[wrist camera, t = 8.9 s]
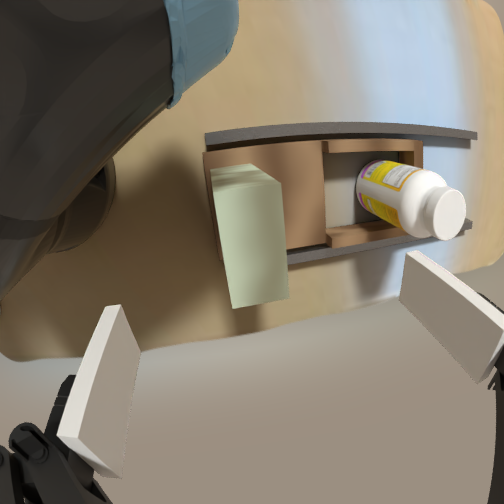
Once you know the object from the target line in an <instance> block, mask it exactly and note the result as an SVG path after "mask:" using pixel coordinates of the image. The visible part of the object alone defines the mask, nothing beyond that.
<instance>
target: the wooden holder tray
mask: <svg viewBox="0 0 504 504" xmlns="http://www.w3.org/2000/svg"><path fill="white" fill-rule="evenodd" d="M361 151H399V163H400V164H405V165H409V166H413V167H417V168H421V169H423V141H419V140H412V139H390V138H359V139H327V140H309V141H295V142H283V143H272V144H262V145H253V146H245V147H237V148H230V149H223V150H216V151H209V152H203V153H202V154H203V161H204V167H205V174H206V181H207V187H208V194H209V200H210V206H211V213H212V219H213V225H214V231H215V237H216V243H217V249H218V254H219V260H220V261H221V260H224V264H225V269H226V275H227V281H228V287H229V292H230V298H231V303H232V309H235V308H240V307H246V306H252V305H257V304H262V303H268V302H273V301H278V300H283V299H288V298H289V283H288V267H287V252H286V249H292V248H298V247H304V246H310V245H316V244H322V243H327V244H328V245H329V246H330V247H331V248H332V249H334V248H339V247H345V246H350V245H356V244H361V243H367V242H372V241H378V240H383V239H389V238H394V237H400V236H405V235H410V234H408V233H406V232H405V231H403V230H401V229H400V228H398V227H396V226H394V225H392V224H391V223H389V222H387V221H385V220H380V221H373V222H367V223H360V224H353V225H347V226H340V227H334V228H328V229H326V222H325V194H324V174H323V158H322V152H326V153H339V152H361Z"/></svg>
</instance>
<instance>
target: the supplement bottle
mask: <svg viewBox="0 0 504 504" xmlns="http://www.w3.org/2000/svg"><path fill="white" fill-rule="evenodd" d="M356 193H357V197H358V200H359V202H360V204H361V205H362V206H363V207H364V208H365V209H366V210H367V211H369V212H371V213H372V214H374V215H376V216H378V217H380V218H382V219H383V220H385V221H387V222H389V223H391V224H392V225H394V226H396V227H398V228H400V229H401V230H403V231H405V232H406V233H408V234H410V235H412V236H414V237H417V238H426V237H430V236H434V237H436V238H438V239H440V240H443V241H447V240H450V239H452V238H453V237H455V236H456V235H457V234H458V232H459V231H460V229H461V227H462V225H463V223H464V220H465V215H466V203H465V200H464V197H463V195H462V194H461V193H460V192H459V191H457V190H455V189H453V188H450V187H448V186H447V184H446V183H445V181H444V180H443V178H442V177H441V176H439V175H438V174H437V173H435V172H432V171H429V170H425V169H421V168H417V167H413V166H409V165H405V164H400V163H396V162H392V161H387V160H375V161H372V162H370V163H368V164H367V165H366V166H365V167H364V168H363V169H362V170H361V172H360V173H359V176H358V178H357V183H356Z"/></svg>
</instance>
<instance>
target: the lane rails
mask: <svg viewBox="0 0 504 504" xmlns="http://www.w3.org/2000/svg"><path fill="white" fill-rule="evenodd" d="M328 133H401V134H420V135H435V136H446V137H456V138H465V139H473V140H477V132H473V131H466V130H459V129H452V128H444V127H435V126H425V125H413V124H399V123H377V122H320V123H298V124H282V125H270V126H259V127H249V128H241V129H232V130H225V131H218V132H211V133H205V139H206V145H213V144H219V143H226V142H234V141H242V140H250V139H259V138H269V137H280V136H292V135H307V134H328ZM472 222H473V221H470V220H468V219H465V220H464V223H463V225H462V227H461V229H460V231H463V230H468V229H472ZM430 237H434V236H430ZM430 237H426V238H430ZM420 239H425V238H417V237H414V236H412V235H405V236H400V237H394V238H389V239H383V240H378V241H372V242H367V243H361V244H356V245H350V246H345V247H339V248H334V249H332V248H331V247H330V246H329V245H328V244H327V243H322V244H316V245H310V246H304V247H299V248H293V249H287V250H286V252H287V265H290V264H296V263H301V262H307V261H312V260H317V259H323V258H328V257H334V256H339V255H344V254H349V253H355V252H360V251H365V250H370V249H375V248H380V247H385V246H391V245H396V244H401V243H406V242H410V241H415V240H420Z"/></svg>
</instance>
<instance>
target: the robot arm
mask: <svg viewBox="0 0 504 504" xmlns="http://www.w3.org/2000/svg"><path fill="white" fill-rule="evenodd" d="M238 24H239V4H238V0H0V301H1V300H2V299H3V298H4V296H5V295H6V294H7V293H8V292H9V291H10V290H11V289H12V288H13V287H14V286H15V285H16V284H17V283H18V282H19V281H20V280H21V278H22V277H23V276H24V275H25V274H26V273H27V272H28V271H29V270H31V269H32V268H33V267H34V266H35V265H36V264H37V263H38V262H39V261H40V260H41V259H42V258H43V257H44V256H45V255H46V254H50V253H54V252H62V251H66V250H70V249H72V248H75V247H76V246H78V245H80V244H81V243H83V242H84V241H86V240H87V239H88V238H89V237H90V236H91V235H92V234H93V233H94V232H95V231H96V230H97V229H98V228H99V227H100V225H101V224H102V223H103V221H104V219H105V218H106V216H107V214H108V212H109V209H110V207H111V204H112V200H113V196H114V190H115V169H114V163H113V159H112V157H113V156H114V155H115V154H116V153H117V152H118V151H119V150H120V149H121V148H122V147H123V146H124V145H125V144H126V143H127V142H128V141H129V140H130V139H132V138H133V137H134V136H135V135H136V134H137V133H138V132H139V131H140V130H141V129H142V128H143V127H145V126H146V125H147V124H148V123H149V122H150V121H151V120H152V119H154V118H155V117H156V116H157V115H158V114H159V113H161V112H162V111H163V110H164V109H165V108H167V109H170V108H172V107H173V106H174V105H176V104H177V103H178V101H179V100H180V98H181V96H182V93H184V92H185V91H186V90H187V89H188V88H189V87H191V86H192V85H193V84H194V83H196V82H197V81H198V80H199V79H201V78H202V77H203V76H204V75H206V74H207V73H208V72H210V71H211V70H212V69H214V68H215V67H216V66H217V65H219V64H220V63H221V62H222V61H223V60H224V59H225V57H226V56H227V55H228V53H229V52H230V50H231V47H232V44H233V41H234V37H235V35H236V34H237V30H238ZM399 301H400V302H401V303H402V304H403V305H404V306H405V307H406V308H407V309H408V310H409V311H410V312H411V313H412V314H413V315H414V316H415V317H416V318H417V319H418V320H419V321H420V322H421V323H422V324H423V326H424V327H425V328H426V329H427V330H428V331H429V332H430V333H431V334H432V335H433V336H434V337H435V338H436V339H437V340H438V341H439V342H440V343H441V344H442V346H443V347H445V349H446V350H447V351H448V352H449V353H450V354H451V355H452V356H453V357H454V359H455V360H456V361H457V362H458V363H459V364H460V365H461V366H462V368H463V369H464V370H465V371H466V372H467V373H468V374H469V375H470V377H471V378H472V379H473V380H474V381H475V383H476V384H478V383H480V382H481V381H483V380H484V379H486V378H487V377H488V376H489V374H490V372H491V371H492V369H493V367H494V366H495V367H496V368H497V371H496V373H495V375H494V377H493V378H492V380H491V382H490V383H489V385H488V389H490V388H491V386H492V385H493V383H494V382H495V386H494V387H493V390H496V442H495V443H496V444H495V456H494V467H493V474H492V481H491V488H490V493H489V498H488V503H487V504H504V311H502V310H501V309H500V308H499V307H496V305H495V304H494V303H493V302H490V300H489V299H488V298H486V297H485V296H484V295H482V294H480V293H478V292H476V291H474V290H472V289H471V288H470V287H468V286H467V285H466V284H464V283H463V282H462V281H460V280H459V279H458V278H456V277H455V276H454V275H452V274H451V273H449V272H448V271H447V270H445V269H444V268H442V267H441V266H440V265H438V264H437V263H435V262H434V261H432V260H431V259H429V258H428V257H427V256H425V255H424V254H422V253H421V252H419V251H418V250H416V251H412V252H407V253H406V256H405V264H404V271H403V278H402V285H401V291H400V297H399ZM140 355H141V351H140V349H139V347H138V344H137V342H136V340H135V337H134V335H133V333H132V330H131V328H130V326H129V323H128V321H127V318H126V316H125V313H124V311H123V308H122V306H121V304H119V305H112V306H106V307H105V309H104V311H103V313H102V315H101V317H100V320H99V322H98V324H97V326H96V329H95V331H94V333H93V336H92V338H91V340H90V343H89V345H88V347H87V350H86V352H85V355H84V357H83V360H82V363H81V365H80V367H79V370H78V373H77V375H69V376H68V377H67V378H66V380H65V381H64V382H63V383H62V384H61V387H60V389H59V392H58V395H57V396H58V397H57V398H56V400H55V403H54V406H53V408H52V411H51V414H50V417H49V420H48V423H47V426H46V429H45V432H44V434H43V433H42V432H41V430H40V429H39V428H38V427H37V426H36V425H34V424H32V423H26V422H25V423H22V424H19V425H18V426H17V427H16V428H14V430H13V431H12V433H11V434H10V438H9V448H10V449H11V450H12V451H14V452H15V453H10V452H9V451H8V450H7V449H6V448H5V447H3V446H1V445H0V504H113V503H112V502H111V501H110V499H109V498H108V497H107V495H106V494H105V493H104V491H103V490H102V488H101V487H100V485H99V484H98V482H97V481H96V480H95V479H94V478H93V474H94V470H95V471H96V472H97V473H99V474H100V475H101V476H103V477H110V478H121V479H122V474H123V462H124V454H125V445H126V437H127V430H128V423H129V416H130V410H131V403H132V397H133V390H134V386H135V380H136V375H137V369H138V364H139V359H140ZM24 498H25V502H24Z"/></svg>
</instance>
